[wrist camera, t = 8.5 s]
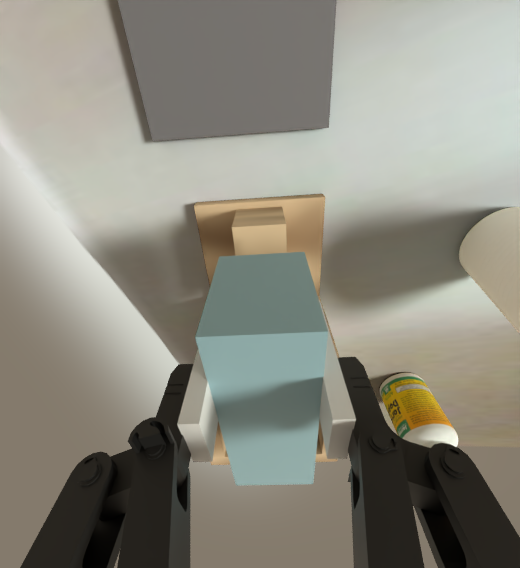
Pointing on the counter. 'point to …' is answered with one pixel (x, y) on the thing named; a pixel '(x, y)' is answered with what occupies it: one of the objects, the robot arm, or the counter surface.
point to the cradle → (263, 248)
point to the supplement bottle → (416, 411)
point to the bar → (265, 365)
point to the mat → (231, 64)
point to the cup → (496, 260)
